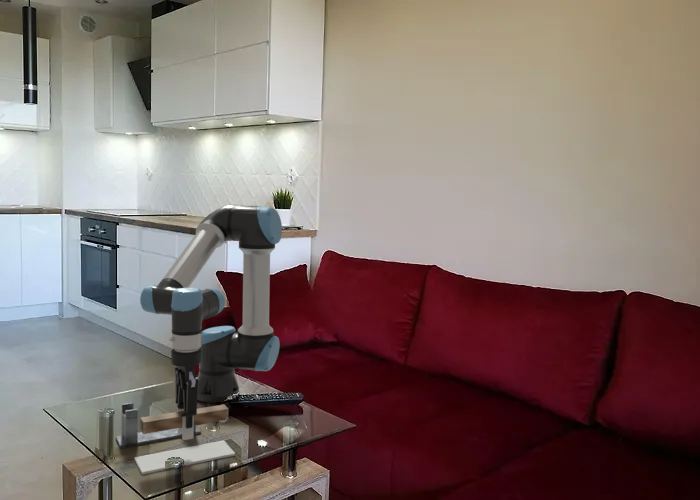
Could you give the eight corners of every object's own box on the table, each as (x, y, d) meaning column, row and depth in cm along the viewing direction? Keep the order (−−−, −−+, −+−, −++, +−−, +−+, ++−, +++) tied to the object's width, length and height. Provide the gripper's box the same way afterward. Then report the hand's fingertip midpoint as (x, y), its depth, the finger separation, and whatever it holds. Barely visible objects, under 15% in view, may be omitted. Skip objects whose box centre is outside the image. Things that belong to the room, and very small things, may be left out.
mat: (223, 442, 170) (223, 440, 170) (235, 455, 162) (235, 453, 162) (134, 459, 157) (134, 457, 157) (142, 474, 150) (142, 472, 150)
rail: (223, 415, 166) (223, 404, 165) (228, 419, 163) (228, 408, 162) (140, 429, 154) (140, 417, 154) (143, 434, 151) (143, 422, 151)
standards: (194, 425, 180) (194, 393, 179) (200, 433, 175) (201, 400, 174) (116, 439, 169) (115, 404, 168) (120, 448, 163) (120, 412, 162)
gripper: (163, 342, 162) (163, 426, 164) (180, 358, 147) (179, 451, 150) (191, 339, 165) (190, 422, 168) (210, 355, 151) (209, 445, 154)
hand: (185, 435), depth 159 cm, fingers closed on rail, 3 cm apart
